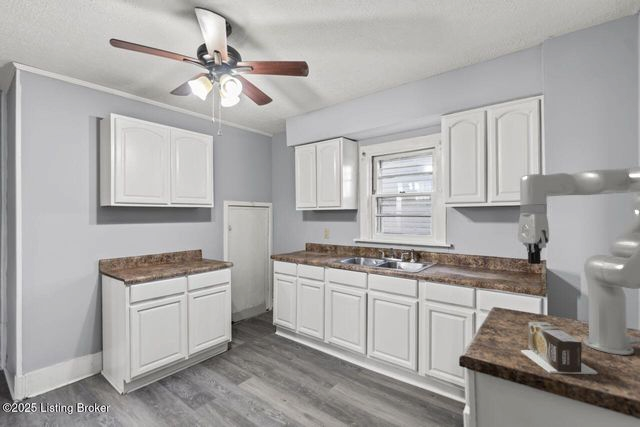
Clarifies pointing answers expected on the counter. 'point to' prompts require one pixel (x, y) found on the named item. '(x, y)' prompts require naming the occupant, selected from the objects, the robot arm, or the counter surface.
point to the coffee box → (555, 347)
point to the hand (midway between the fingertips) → (534, 263)
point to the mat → (550, 369)
